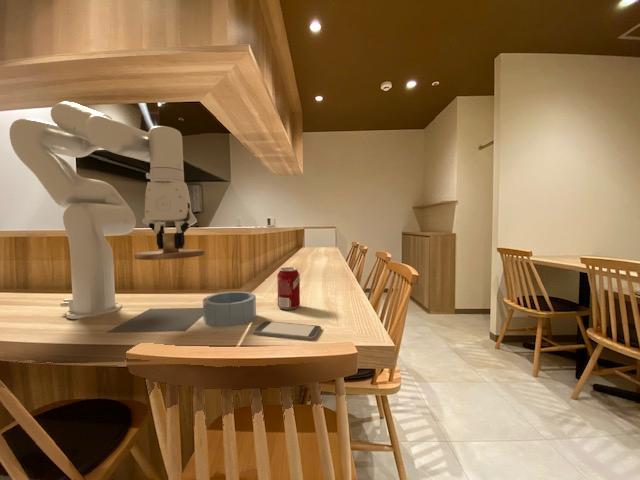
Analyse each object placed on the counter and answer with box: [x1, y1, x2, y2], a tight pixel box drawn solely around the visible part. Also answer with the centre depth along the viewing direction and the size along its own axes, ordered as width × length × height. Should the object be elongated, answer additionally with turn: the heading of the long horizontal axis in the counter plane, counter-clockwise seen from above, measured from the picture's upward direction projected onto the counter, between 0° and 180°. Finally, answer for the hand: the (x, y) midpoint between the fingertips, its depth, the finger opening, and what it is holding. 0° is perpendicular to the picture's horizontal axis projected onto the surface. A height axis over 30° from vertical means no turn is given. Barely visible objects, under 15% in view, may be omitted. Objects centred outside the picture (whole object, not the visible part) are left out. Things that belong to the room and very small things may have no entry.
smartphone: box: [252, 320, 322, 342], centre depth 66 cm, size 7×1×15 cm
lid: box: [134, 232, 205, 261], centre depth 73 cm, size 16×16×6 cm
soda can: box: [276, 266, 301, 311], centre depth 85 cm, size 7×7×12 cm
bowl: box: [202, 291, 257, 328], centre depth 74 cm, size 13×13×6 cm
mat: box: [105, 307, 203, 334], centre depth 74 cm, size 18×18×1 cm
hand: (171, 247), depth 73 cm, fingers closed on lid, 3 cm apart
